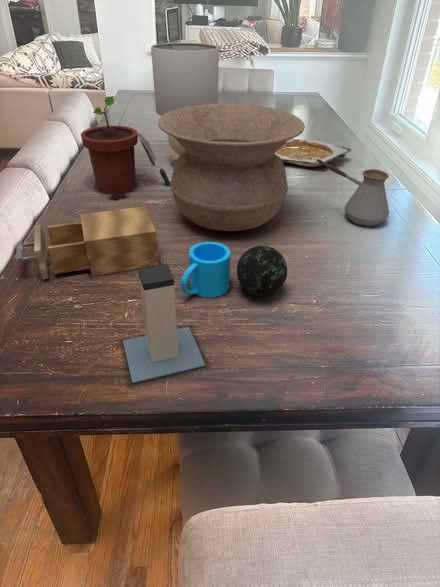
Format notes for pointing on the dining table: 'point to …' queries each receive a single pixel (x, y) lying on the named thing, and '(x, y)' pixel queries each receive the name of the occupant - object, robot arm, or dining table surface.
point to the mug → (207, 270)
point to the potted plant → (115, 156)
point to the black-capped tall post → (159, 312)
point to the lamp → (184, 79)
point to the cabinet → (119, 240)
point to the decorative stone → (261, 270)
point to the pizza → (310, 152)
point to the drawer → (57, 249)
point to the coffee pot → (366, 197)
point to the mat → (147, 370)
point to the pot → (230, 163)
